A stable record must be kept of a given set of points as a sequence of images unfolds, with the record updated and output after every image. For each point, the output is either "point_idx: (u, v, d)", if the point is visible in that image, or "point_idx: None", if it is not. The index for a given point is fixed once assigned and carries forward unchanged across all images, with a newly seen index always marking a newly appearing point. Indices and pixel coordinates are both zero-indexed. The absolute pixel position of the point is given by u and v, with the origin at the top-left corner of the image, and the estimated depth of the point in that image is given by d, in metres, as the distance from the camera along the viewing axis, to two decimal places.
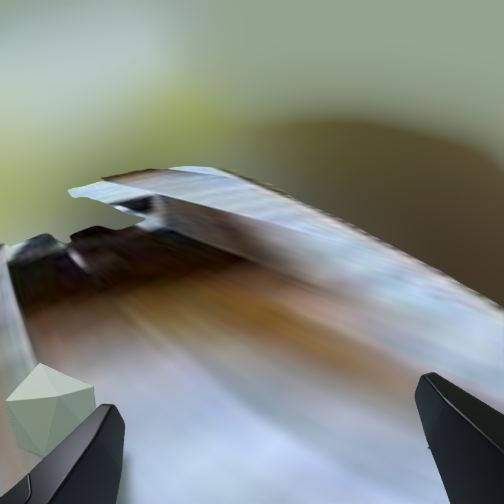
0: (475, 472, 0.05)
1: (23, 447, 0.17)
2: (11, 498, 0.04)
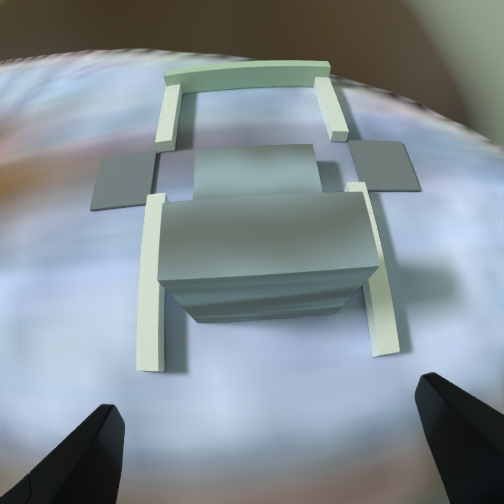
0: (475, 472, 0.05)
1: None
2: (11, 498, 0.04)
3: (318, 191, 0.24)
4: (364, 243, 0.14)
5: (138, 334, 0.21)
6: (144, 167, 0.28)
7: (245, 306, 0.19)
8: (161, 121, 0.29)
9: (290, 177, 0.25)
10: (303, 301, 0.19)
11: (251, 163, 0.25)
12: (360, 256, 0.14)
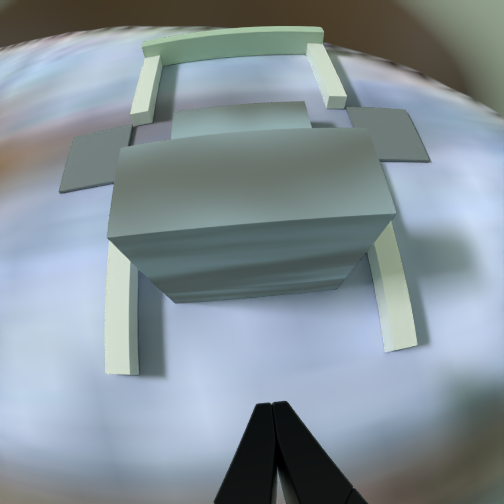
0: None
1: None
2: None
3: None
4: (374, 185, 0.11)
5: (106, 331, 0.17)
6: (118, 142, 0.24)
7: (227, 277, 0.15)
8: (137, 92, 0.25)
9: None
10: (298, 270, 0.15)
11: (235, 121, 0.22)
12: (370, 201, 0.10)
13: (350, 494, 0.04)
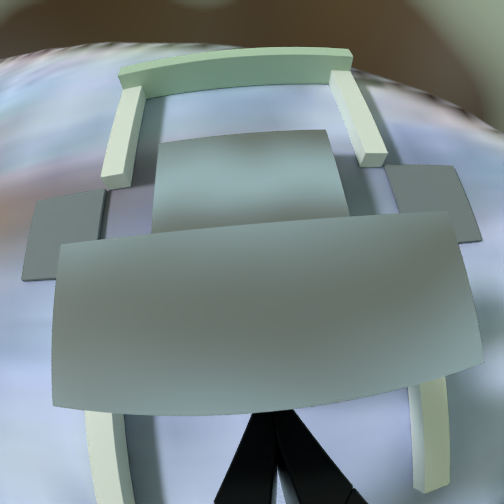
0: None
1: None
2: None
3: (339, 198, 0.16)
4: (460, 321, 0.06)
5: (94, 478, 0.11)
6: (88, 215, 0.19)
7: None
8: (111, 143, 0.19)
9: (296, 178, 0.17)
10: None
11: (238, 158, 0.17)
12: (454, 350, 0.06)
13: (350, 494, 0.04)
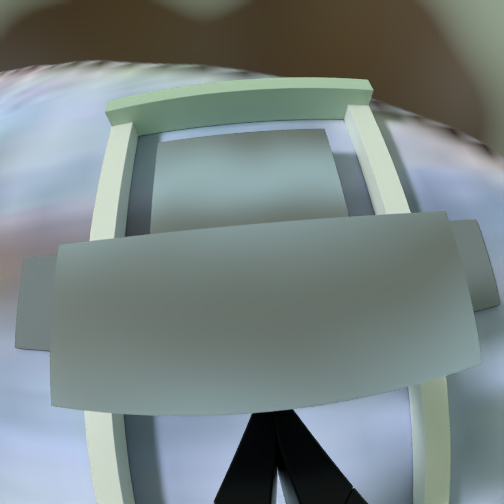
0: None
1: None
2: None
3: (338, 197, 0.16)
4: (457, 322, 0.06)
5: None
6: None
7: None
8: (99, 198, 0.17)
9: (295, 177, 0.17)
10: None
11: (237, 157, 0.17)
12: (451, 351, 0.06)
13: (350, 494, 0.04)
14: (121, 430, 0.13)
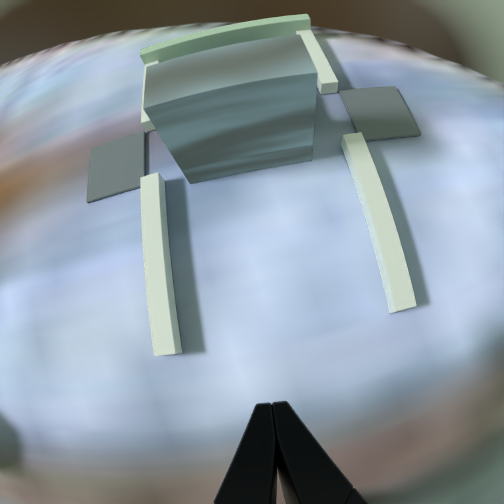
0: None
1: None
2: None
3: None
4: (302, 61, 0.16)
5: (151, 320, 0.21)
6: (134, 149, 0.27)
7: (223, 144, 0.21)
8: None
9: None
10: (272, 133, 0.21)
11: None
12: (299, 68, 0.16)
13: (350, 494, 0.04)
14: (165, 224, 0.24)
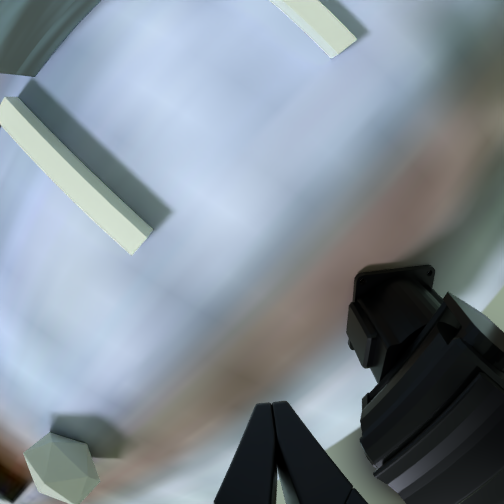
0: None
1: (96, 481, 0.26)
2: None
3: None
4: None
5: (102, 226, 0.18)
6: None
7: (34, 19, 0.10)
8: None
9: None
10: None
11: None
12: None
13: (350, 494, 0.04)
14: (46, 131, 0.16)
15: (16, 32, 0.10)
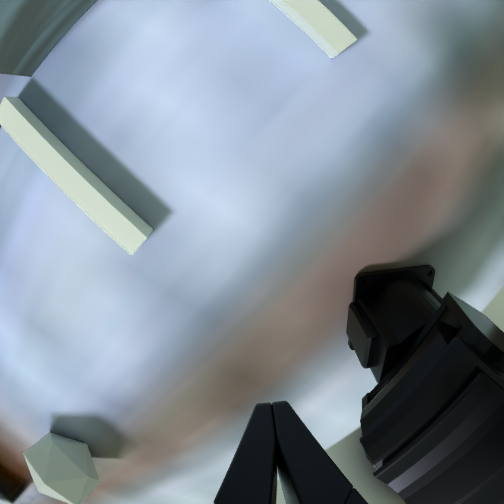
0: None
1: (96, 481, 0.26)
2: None
3: None
4: None
5: (102, 226, 0.18)
6: None
7: (29, 19, 0.10)
8: None
9: None
10: None
11: None
12: None
13: (350, 494, 0.04)
14: (46, 131, 0.16)
15: (12, 33, 0.10)
